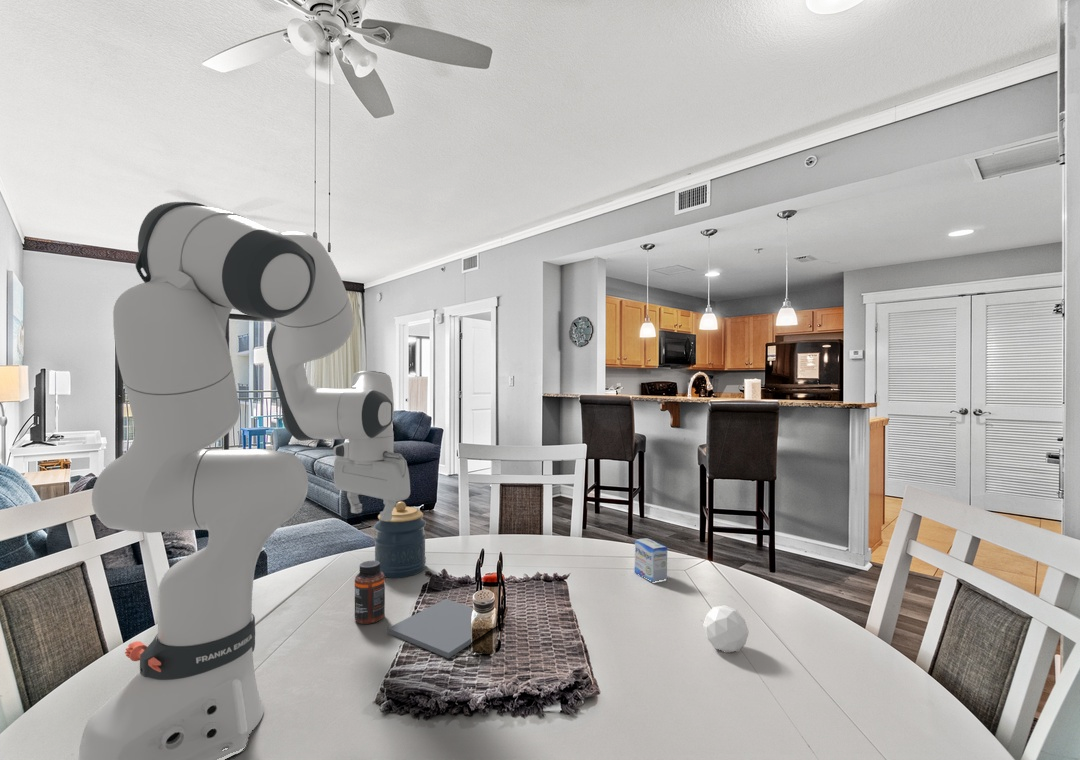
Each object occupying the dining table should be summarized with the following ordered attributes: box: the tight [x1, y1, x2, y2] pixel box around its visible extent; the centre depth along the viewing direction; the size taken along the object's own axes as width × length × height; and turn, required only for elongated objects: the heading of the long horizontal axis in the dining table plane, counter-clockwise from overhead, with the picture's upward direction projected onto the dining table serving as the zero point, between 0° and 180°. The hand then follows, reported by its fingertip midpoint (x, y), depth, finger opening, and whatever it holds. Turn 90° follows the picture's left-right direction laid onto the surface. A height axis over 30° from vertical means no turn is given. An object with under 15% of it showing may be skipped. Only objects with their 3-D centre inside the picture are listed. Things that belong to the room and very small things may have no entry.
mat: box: [387, 598, 472, 659], centre depth 100 cm, size 16×16×1 cm
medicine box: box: [633, 538, 668, 582], centre depth 127 cm, size 8×4×9 cm, turn 25°
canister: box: [374, 500, 427, 579], centre depth 131 cm, size 13×13×18 cm
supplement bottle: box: [354, 560, 386, 625], centre depth 104 cm, size 6×6×11 cm
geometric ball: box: [702, 604, 749, 653], centre depth 93 cm, size 8×8×8 cm
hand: (370, 516), depth 104 cm, fingers open, 8 cm apart
